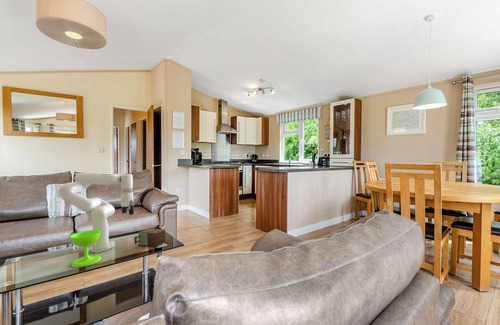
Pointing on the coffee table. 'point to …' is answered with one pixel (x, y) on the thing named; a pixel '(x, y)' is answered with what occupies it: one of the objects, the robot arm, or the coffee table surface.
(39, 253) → the coffee table surface
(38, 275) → the coffee table surface
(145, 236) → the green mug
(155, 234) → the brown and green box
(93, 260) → the wineglass
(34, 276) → the coffee table surface
